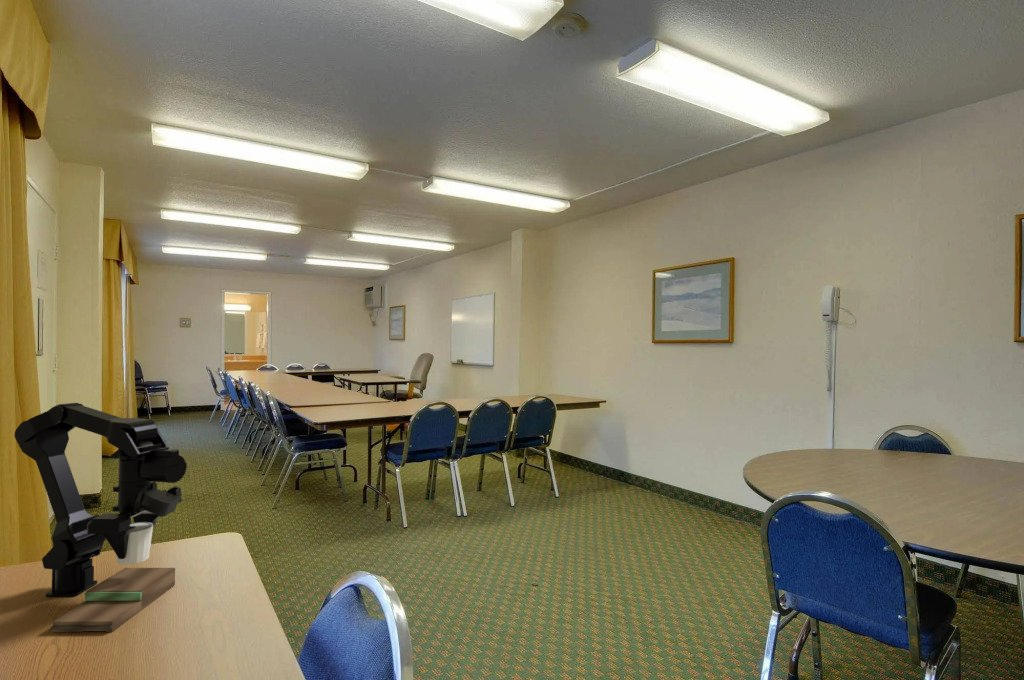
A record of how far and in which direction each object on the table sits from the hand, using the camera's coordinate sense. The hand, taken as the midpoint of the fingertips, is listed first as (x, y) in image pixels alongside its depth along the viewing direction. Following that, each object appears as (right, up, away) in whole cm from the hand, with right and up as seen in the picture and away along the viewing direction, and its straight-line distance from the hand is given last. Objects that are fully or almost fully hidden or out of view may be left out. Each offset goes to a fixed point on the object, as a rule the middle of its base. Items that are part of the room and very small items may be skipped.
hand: (133, 552), depth 111 cm
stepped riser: (0, -10, -4) cm, 10 cm away
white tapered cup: (0, -2, 0) cm, 2 cm away
